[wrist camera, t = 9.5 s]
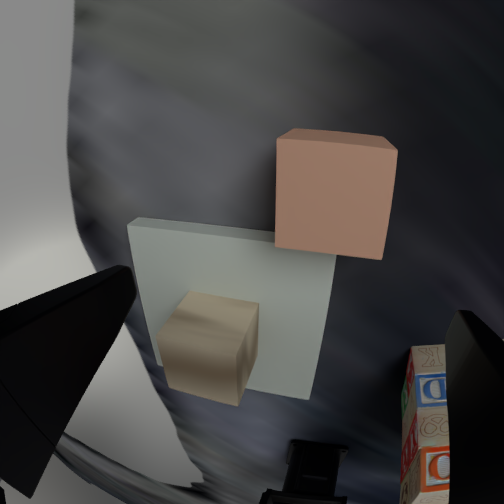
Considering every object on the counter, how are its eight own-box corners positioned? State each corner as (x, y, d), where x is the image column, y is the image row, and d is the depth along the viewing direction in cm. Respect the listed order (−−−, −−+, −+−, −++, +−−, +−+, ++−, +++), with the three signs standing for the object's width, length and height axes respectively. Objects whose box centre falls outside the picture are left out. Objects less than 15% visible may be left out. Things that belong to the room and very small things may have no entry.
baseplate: (311, 386, 26) (308, 399, 24) (164, 354, 29) (157, 365, 28) (337, 239, 19) (336, 250, 18) (138, 217, 22) (126, 225, 21)
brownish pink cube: (373, 220, 18) (381, 259, 14) (291, 210, 19) (274, 247, 15) (383, 136, 16) (397, 150, 11) (294, 128, 17) (276, 138, 13)
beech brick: (257, 355, 23) (238, 406, 19) (196, 341, 24) (169, 387, 20) (259, 302, 21) (236, 355, 17) (189, 290, 22) (155, 335, 18)
